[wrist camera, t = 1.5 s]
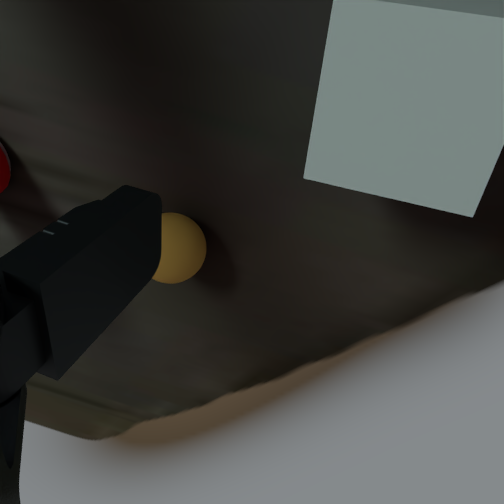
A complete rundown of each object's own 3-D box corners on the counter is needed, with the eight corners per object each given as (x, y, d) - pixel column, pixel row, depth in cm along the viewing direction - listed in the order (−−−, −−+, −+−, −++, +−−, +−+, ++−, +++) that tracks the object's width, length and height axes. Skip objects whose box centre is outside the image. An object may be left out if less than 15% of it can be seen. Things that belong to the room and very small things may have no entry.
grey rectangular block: (368, -21, 22) (334, -6, 15) (518, -2, 21) (554, 25, 14) (340, 117, 26) (303, 178, 19) (464, 141, 25) (472, 217, 18)
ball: (155, 193, 34) (117, 226, 30) (218, 210, 32) (187, 246, 29) (157, 249, 36) (123, 286, 33) (215, 266, 35) (187, 306, 31)
